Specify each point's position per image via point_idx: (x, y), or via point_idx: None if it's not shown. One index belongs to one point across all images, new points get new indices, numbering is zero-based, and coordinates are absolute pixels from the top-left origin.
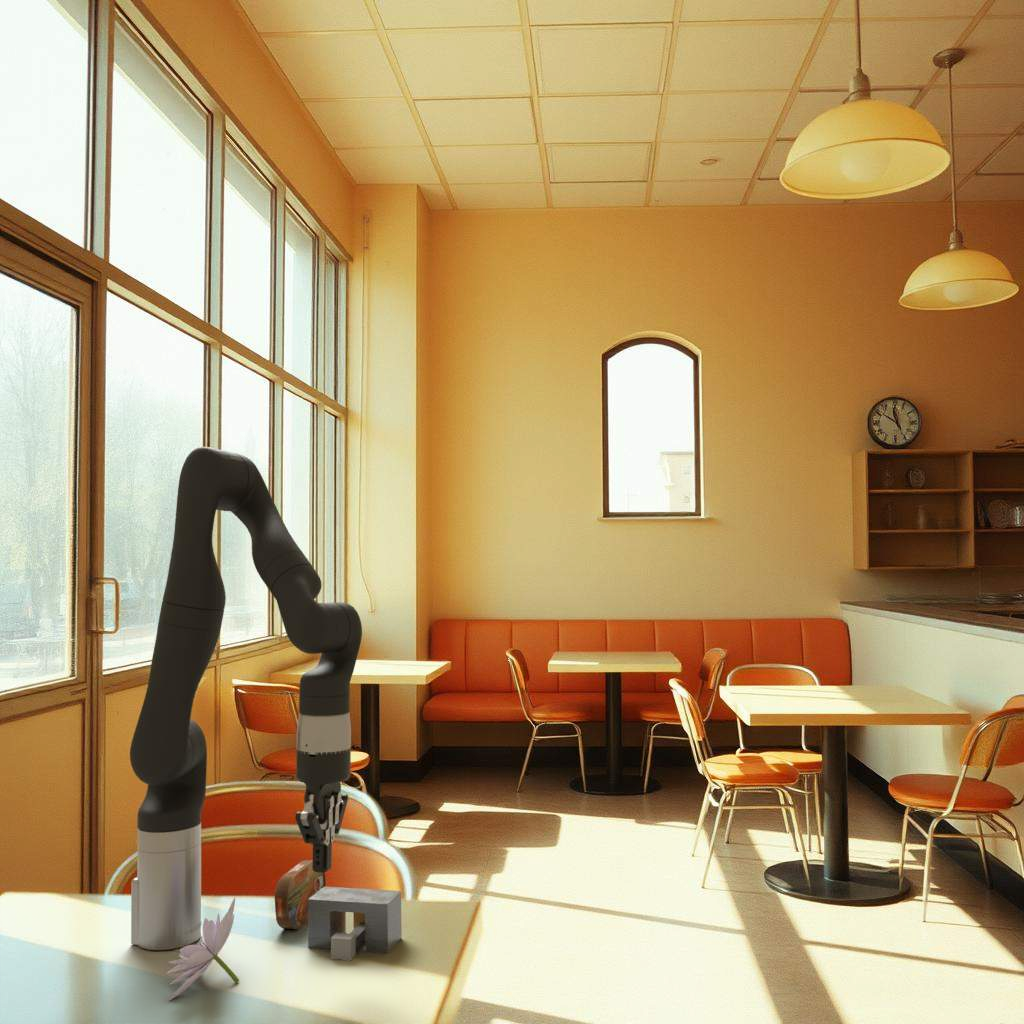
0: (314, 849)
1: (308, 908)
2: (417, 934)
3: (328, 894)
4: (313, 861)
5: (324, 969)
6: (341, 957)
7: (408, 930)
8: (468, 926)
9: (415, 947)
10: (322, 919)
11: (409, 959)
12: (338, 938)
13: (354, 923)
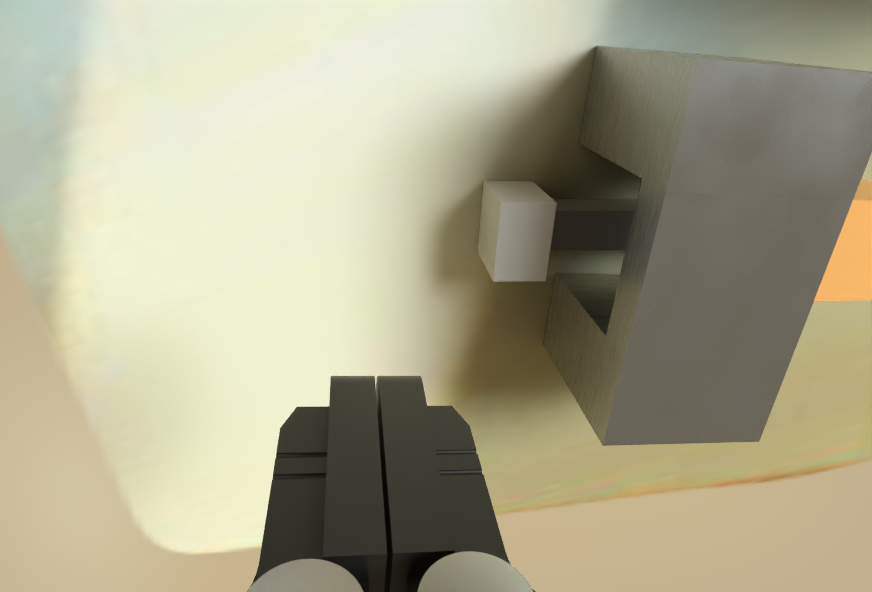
0: (264, 561)
1: (673, 58)
2: None
3: (763, 149)
4: (276, 456)
5: (393, 189)
6: (481, 223)
7: None
8: (739, 481)
9: None
10: (632, 130)
11: (499, 412)
12: (499, 234)
13: None
